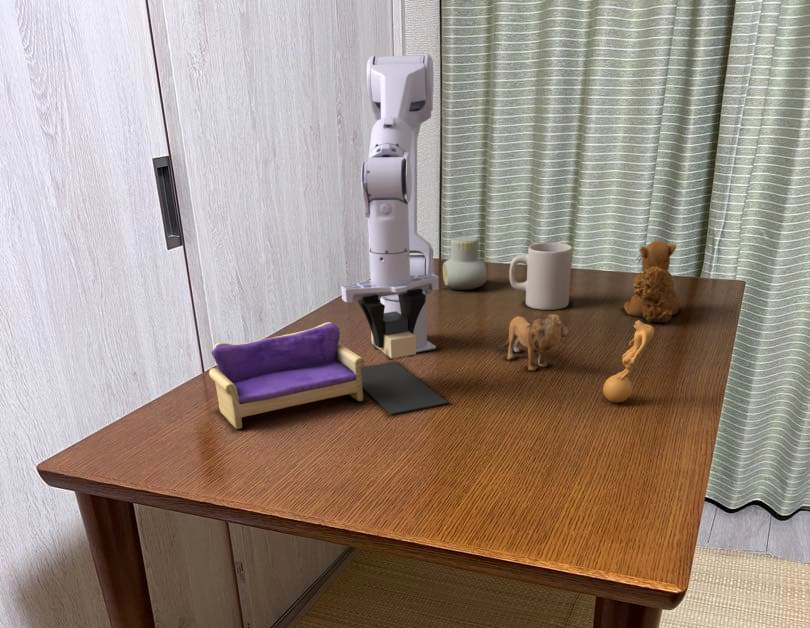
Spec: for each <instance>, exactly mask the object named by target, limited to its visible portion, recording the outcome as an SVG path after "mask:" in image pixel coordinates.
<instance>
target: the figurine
mask: <svg viewBox="0 0 810 628" xmlns="http://www.w3.org/2000/svg"><path fill="white" fill-rule="evenodd" d="M633 328H634V329H635V332H634V337H633V338H632V339H631V340H630V341H629V342H628V346H629V347H630V348H629V349H627V350H626V352H625V353H623V354H622V356H621V357H622V365H623V366H624V367H625V369H623V370H622V371H620V372H618V373H616V374H614V375H611V376H609V377H608V378H607V379H606V380H605V382H604V384H603V389H602V392H603V396H604V397H605V398H606V399H607V400H608V401H609V402H612V403H618V404H619V403H622V402H625V401H626V400H627V399H628V398H629V397H630V396H631V393H632V390H633V387H632V382H631V380H630V379H629V378H628V377H627V376H628V375H629V374H630V373H631V371H632V366H633V364H634V363H635V362H636V359H637V357H638V356H639V355H640V354H641V352H642V351H643V349H645V347H646V345H647V344H648V343H649V341H650V340H651V339H652V338H653V336H654V335H655V328H654V327H653V325H650V324H647V323H644V322H642V321H641V320H639V319H638V320H636V321H635V322H634V325H633Z"/></svg>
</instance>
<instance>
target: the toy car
mask: <svg viewBox="0 0 810 628" xmlns="http://www.w3.org/2000/svg"><path fill="white" fill-rule="evenodd" d="M383 333H384V346H383V348H379V347H377V346H376V345H375V344H374V339H373V335H372V331H371V330H370V334H371V335H370V336H371V337H370V338H371V339H370V340H371V344H372V346H373V348H374V350H375V351H381V352H382V353H383V354H385V357H386V359H387V360H388V361H392V360H394V359H397V358H402V357H414V356H415V355H417V352H416V336H415V335H413V334H412V333H410V332H409V331H408V318H406V317H404V316H403V315H401V314H400V313H398V312H397V311H395V312H388V313H384V317H383Z"/></svg>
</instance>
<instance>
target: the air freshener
mask: <svg viewBox="0 0 810 628" xmlns="http://www.w3.org/2000/svg"><path fill="white" fill-rule="evenodd" d="M479 241H480V240H479V239H478V238H477V237H475V236H469V235H468V236H466V235H465V236H463V235H461V236H455V237H452V238H451V240H450V258H449V259H447V260H445V262H444V263H443V264H442V278H443V282H444V285H445V286H447V288H449V289H451V290H454V291H455V290H456V291H457V290H458V291H470V290H475V289H478V288H480V287H481V286H483V285H484V284H486V282H487V277H488V275H487V273H488V272H487V266H486V263H485V261H484V260H483V259H481V258H479V249H480V248H479V243H480V242H479Z"/></svg>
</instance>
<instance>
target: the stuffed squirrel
mask: <svg viewBox="0 0 810 628" xmlns="http://www.w3.org/2000/svg"><path fill="white" fill-rule="evenodd" d="M676 250H677V245H676V244H674V243H671V244H669V245H668V243H666V242H665V241H661V240H659V241H658V240H656V241H652V242H650V243H649V244H647V245H646V246H639V248H638V251H639V253H640V254H639V256H637V258H635V261H637V263H638V264H639V263H640V262H641V266H642V272H641V273H640V274H637V275H636V276H635V278H634V281H633V282H634V283H633V284H632V287H633V290H634V291H633V292H632V293H633V294H634V295H632V297H631V300H630V301H626V302H625V303H624V305H623V307H624V310H625V312H626V313H627V314H628V315H629V316H633V317H637V318H643V319H645V320H646V322H649V323H668V322H669V320H672V316H674V315H676V314H678V311H679V308H680V302H681V301H680V297H679V295H678V294H677V292H676V291H675V282H674V280H673V276H672V274H671V272H669V267H670V264H671V260H670V259H671V256H672V255H673V254H674V252H675V251H676Z"/></svg>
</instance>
